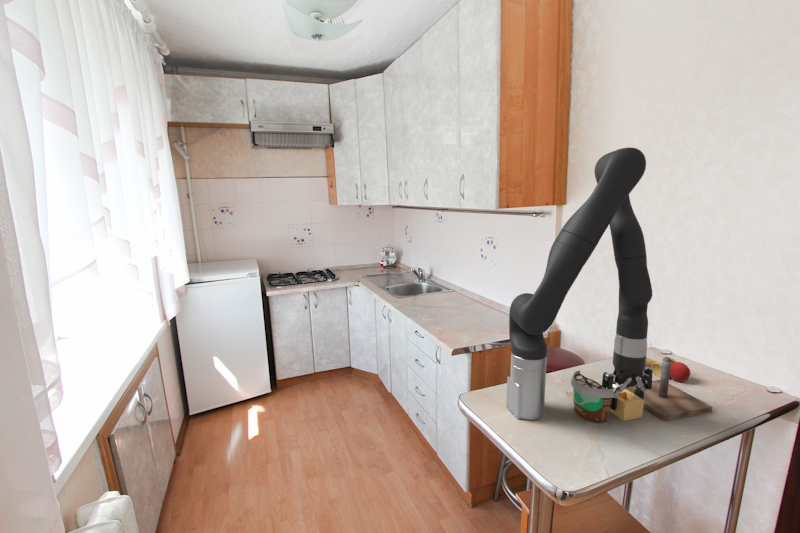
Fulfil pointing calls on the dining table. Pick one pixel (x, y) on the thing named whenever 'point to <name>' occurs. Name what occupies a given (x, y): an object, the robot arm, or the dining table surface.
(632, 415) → the tan hollow square block
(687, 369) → the kendama
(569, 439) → the dining table surface
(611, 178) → the robot arm
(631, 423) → the dining table surface
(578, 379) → the food container
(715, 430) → the dining table surface
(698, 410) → the needle stand
